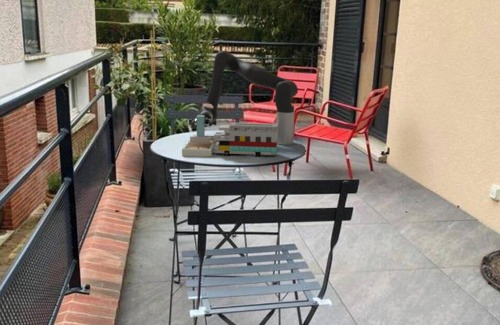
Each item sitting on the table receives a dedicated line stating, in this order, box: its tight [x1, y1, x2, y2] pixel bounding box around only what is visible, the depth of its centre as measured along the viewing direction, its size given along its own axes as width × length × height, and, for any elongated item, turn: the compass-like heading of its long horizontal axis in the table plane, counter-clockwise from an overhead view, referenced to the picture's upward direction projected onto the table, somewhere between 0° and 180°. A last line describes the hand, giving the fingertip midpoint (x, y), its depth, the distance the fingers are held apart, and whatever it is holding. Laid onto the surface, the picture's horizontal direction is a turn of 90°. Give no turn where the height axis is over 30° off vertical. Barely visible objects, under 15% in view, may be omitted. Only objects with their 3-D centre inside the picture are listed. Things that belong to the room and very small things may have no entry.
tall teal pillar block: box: [189, 114, 210, 143], centre depth 248 cm, size 5×10×13 cm, turn 88°
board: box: [187, 134, 217, 149], centre depth 256 cm, size 18×12×4 cm, turn 178°
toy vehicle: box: [213, 122, 278, 158], centre depth 239 cm, size 8×30×15 cm, turn 84°
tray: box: [181, 143, 214, 158], centre depth 241 cm, size 11×14×3 cm
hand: (201, 124), depth 250 cm, fingers open, 8 cm apart
